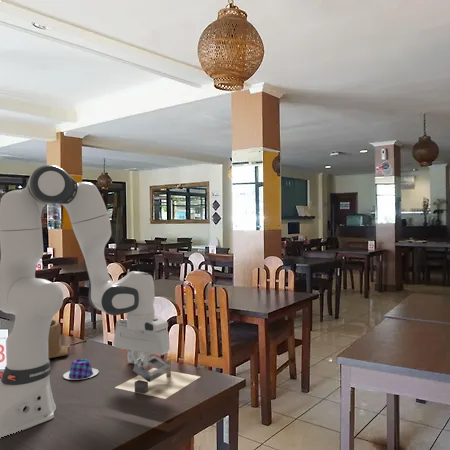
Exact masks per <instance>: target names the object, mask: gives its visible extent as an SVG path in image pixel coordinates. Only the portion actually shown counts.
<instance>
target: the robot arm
mask: <svg viewBox="0 0 450 450" xmlns="http://www.w3.org/2000/svg"><path fill="white" fill-rule="evenodd" d="M55 204H59V205H62V206H63V207H64V208H65V210H66V213H67V214H68V217H69V221H70V224H71V228H72V230H73V234H74V235H75V238H76V240H77V242H78V245H79V249H80V250H81V253H82V255H83V256H82V257H83V260H84V264H85V268H86V272H87V276H88V280H89V289H88V302H89V304H90V306H91V307H93V308H94V309H95V310H97V311H99V312H103V313H105V314H107V315H110V316H121V315H124V314H126V319H121V318H120V319H118V320H117V321H116V323H115V329H114V337H113V345H114V347H115V348H117V349H122V350H127V351H128V350H131V355H132V357H133V359H134V363H133V365H135V364H137V363H139V362H141V365H142V366H147V365H148V359H149V358H150V357H151V355H152V354H153V355H158V356H163V355H166V354H168V352H169V351H170V345H171V344H170V334H169V331H168V330H167V329H168V327H169V322H168V321H167V320H165V319H163V318H162V317H160V316H158V315H156V314H155V313H156V312H155V308H154V302H155V294H156V293H155V282H154V278H153V276H152V274H151V273H148V272H144V271H136V270H132V271H129V272H128V273H127V274H126V275H124V277H122V278H120V279H119V280H116V281H113V279H112V278H111V276H110V273H109V269H108V265H107V262H106V258H105V257H106V256H105V248H106V245H107V244H108V242H109V240H110V238H111V237H112V225H111V219H110V216H109V214H108V210H107V207H106V203H105V201H104V199H103V197H102V195H101V192H100V191H99V189H98V187H97V185H95V184H94V183H92V182H88V181H79V182H77V181H76V180H75V179H74V178H73V177H72V176H71V175H70V174H69V173H68V172H67V171H66V170H65V169H63V168H62V167H59V166H58V165H55V164H45V165H42V166H40V167H37V168H36V169H35V170H33V171H32V172H31V174H30V176H29V177H28V181H27V182H26V184H25V186H24V188H22V189H14V190H11V191H8V192H6V193H4V194H3V195H2V196H1V198H0V311H1V312H2V313H5V314H8V315H9V314H10V315H13V316H14V323H13V327H12V331H11V333H10V334H9V335H8V336H7V337H6V340H5V349H6V350H5V355H6V356H5V360H6V366H5V367H4V369H3V371H0V439H2V438H1V437H4V436H7V435H9V436H11V435H10V434H12V435H14V434H17V433H19V432H22V431H24V430H27V429H30V428H32V427H34V426H37V425H40V424H42V423H45V422H48V421H50V420H52V419H54V418H55V412H56V410H57V405H56V403H55V400H54V397H53V396H54V395H53V392H52V385H51V379H50V375H51V371H52V370H51V360H50V358H48V335H49V329H50V325H51V322H52V320H54V317H55V315H57V313H58V312H59V311H60V310H61V308H62V306H63V303H64V293H63V290H62V288H61V287H60V286H59V285H58V284H56V283H54V282H52V281H50V280H48V279H45V278H39V277H38V278H37V277H36V271H37V266H38V263H39V261H40V260H41V259H42V258H43V255H44V241H43V228H42V212H43V209H44V207H45V206H47V205H55ZM138 351H139V352H143V355H144V356H145V357H144V359H143V360H141V358H139V356H138V353H137V352H138ZM21 430H22V431H21ZM18 431H19V432H18ZM16 432H17V433H16ZM13 433H14V434H13ZM7 437H8V436H7ZM4 438H5V437H4Z"/></svg>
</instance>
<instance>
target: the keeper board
mask: <svg viewBox="0 0 450 450" xmlns="http://www.w3.org/2000/svg"><path fill="white" fill-rule="evenodd" d="M164 362H165V363H167V364H168V365H170V368H169V371H168V372H167V373H165V374H163V375H161V376H160V377H158V378H156V379H154V380H152V381H151V382H148V381H147V380H145V379H144V378H143V377H141V376H140V375H138V374H137V376H134V377H133V378H131V379H129V380H126V381H125V382H123V383H121V384H119V385H117V386H115V387H114V388H115V389H119V390H121V391H122V390H123V391H128V392H133V393H135V394H136V393H137V394H142V395H145V396H150V397H154V398H159V399H162V400H163V399H164V400H166V399H168V398H170V397H171V396H172V395H174V394H176V393H177V392H179V391H181V390H183V389H184V388H185V387H187V386H188V385H190V384H191V383H193V382H195V381H196V380H198V379H200V378H201V376H199V375H194V374H188V373H183V372H179V371H177V372H176V371H172V365H171V364H172V359H171V358H167V359H165V360H164ZM157 369H158V368H157V367H152V368H151V369H149V370H148V369H147V371H149V372H150V373H151V372H153V371H155V370H157Z"/></svg>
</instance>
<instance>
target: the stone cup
mask: <svg viewBox="0 0 450 450" xmlns="http://www.w3.org/2000/svg"><path fill="white" fill-rule="evenodd" d="M61 331H62V329H61V323H60V322H59V321H58V320H56V319H52V322H51V325H50V329H49V335H48V358H49V359H53V358H60V357H64V356H68V355H69V354H70V351H71V344H65V345H60V340H61Z"/></svg>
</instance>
